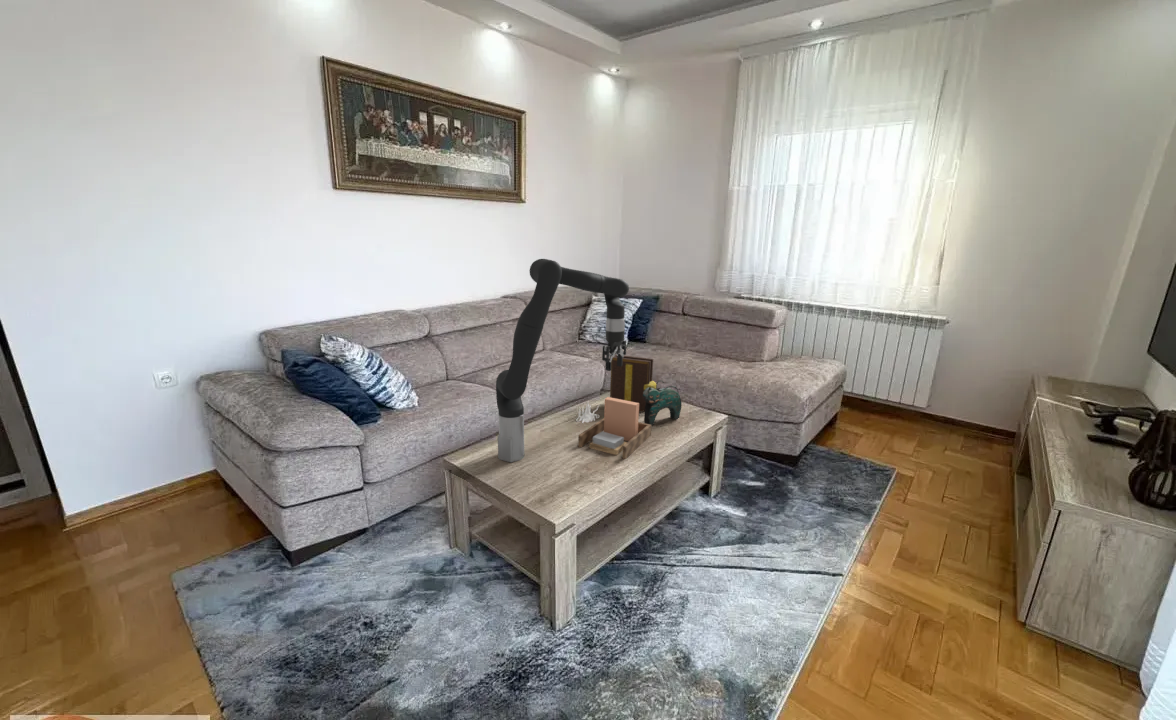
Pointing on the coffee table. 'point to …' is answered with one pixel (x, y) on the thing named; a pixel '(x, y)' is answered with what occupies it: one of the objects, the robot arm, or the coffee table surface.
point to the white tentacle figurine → (587, 414)
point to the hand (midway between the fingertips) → (614, 368)
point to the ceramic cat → (661, 403)
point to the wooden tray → (629, 447)
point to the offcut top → (608, 440)
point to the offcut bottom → (606, 449)
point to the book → (631, 379)
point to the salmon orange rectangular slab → (621, 418)
